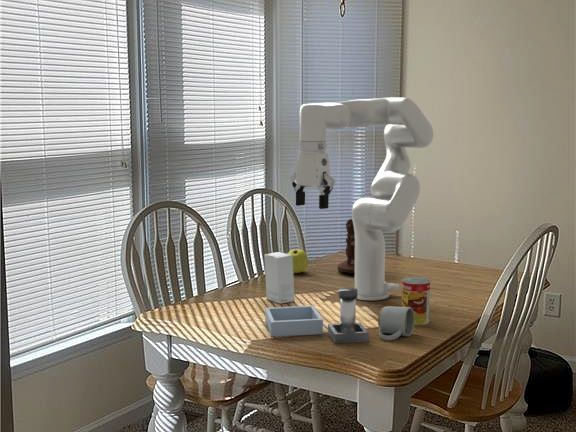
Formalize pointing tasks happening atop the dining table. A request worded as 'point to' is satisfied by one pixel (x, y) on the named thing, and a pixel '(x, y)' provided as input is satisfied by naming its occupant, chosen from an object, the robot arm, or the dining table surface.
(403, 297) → the canned food
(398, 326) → the ceramic mug
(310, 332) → the bin
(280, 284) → the skincare box
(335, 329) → the socket collar
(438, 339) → the dining table surface
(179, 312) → the dining table surface
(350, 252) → the brown carved statue
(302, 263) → the apple
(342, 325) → the black capped silver cylinder
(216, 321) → the dining table surface
